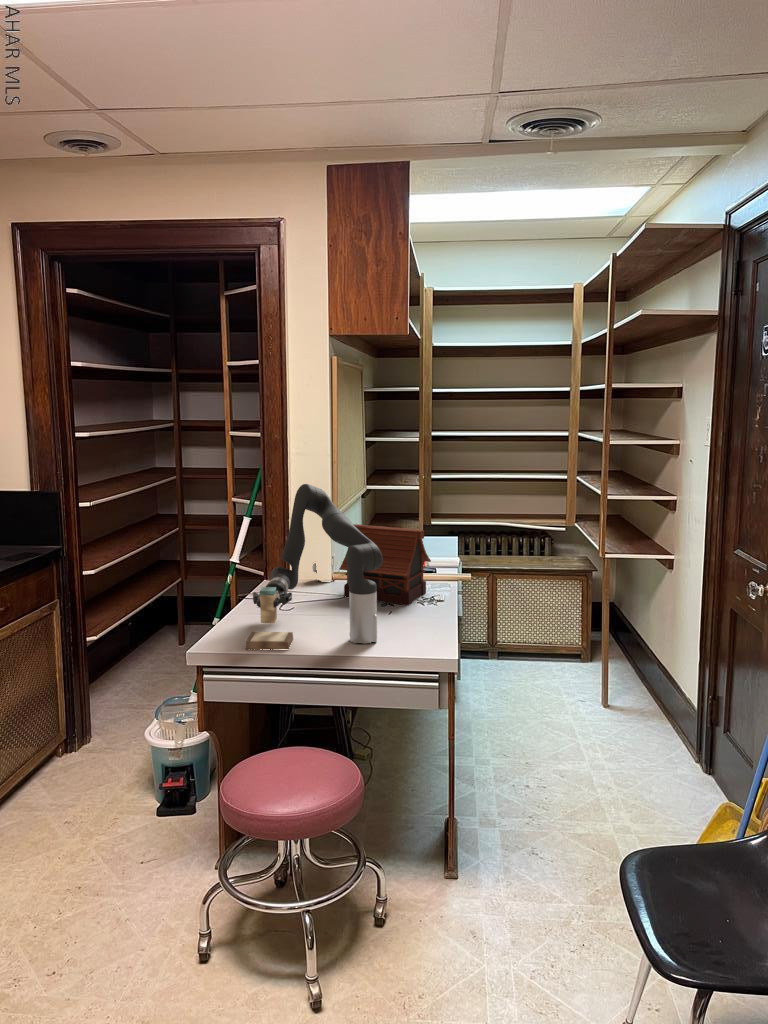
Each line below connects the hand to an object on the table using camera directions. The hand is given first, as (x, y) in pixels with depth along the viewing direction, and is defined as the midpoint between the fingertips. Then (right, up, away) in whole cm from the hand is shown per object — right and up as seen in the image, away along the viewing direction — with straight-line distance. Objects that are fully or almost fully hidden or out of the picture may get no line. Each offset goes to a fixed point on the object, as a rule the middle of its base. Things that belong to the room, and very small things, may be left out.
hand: (266, 604), depth 238 cm
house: (+38, -5, +65) cm, 76 cm away
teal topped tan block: (0, -6, +4) cm, 7 cm away
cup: (+12, -1, +89) cm, 90 cm away
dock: (0, -14, +5) cm, 15 cm away
